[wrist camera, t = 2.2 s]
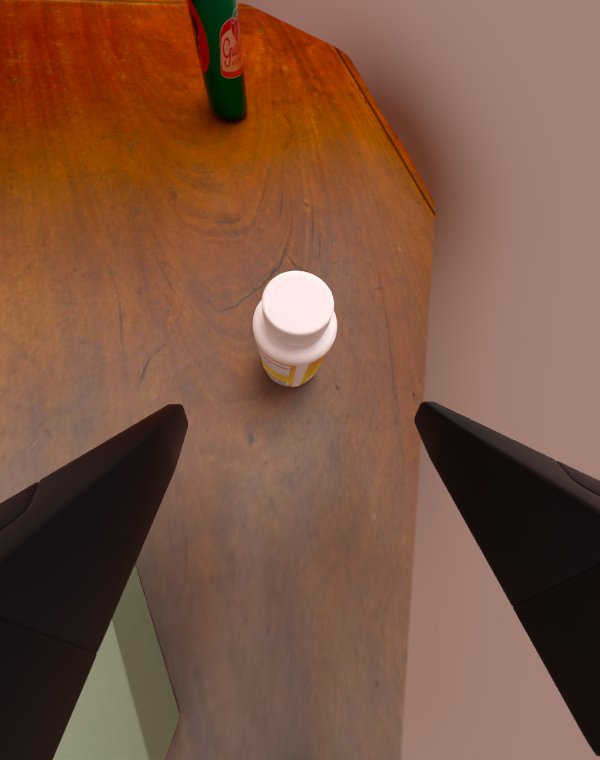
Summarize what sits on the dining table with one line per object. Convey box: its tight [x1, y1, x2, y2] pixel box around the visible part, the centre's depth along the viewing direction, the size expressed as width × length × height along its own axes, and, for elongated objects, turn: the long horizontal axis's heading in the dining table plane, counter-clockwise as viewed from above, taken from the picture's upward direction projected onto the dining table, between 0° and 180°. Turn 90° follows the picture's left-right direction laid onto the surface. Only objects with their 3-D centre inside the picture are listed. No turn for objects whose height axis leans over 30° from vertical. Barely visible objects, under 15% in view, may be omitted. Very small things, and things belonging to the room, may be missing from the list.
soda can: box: [186, 0, 247, 121], centre depth 23 cm, size 5×5×12 cm
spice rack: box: [53, 565, 180, 760], centre depth 13 cm, size 16×8×5 cm, turn 26°
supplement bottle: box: [253, 271, 337, 387], centre depth 16 cm, size 6×6×10 cm
